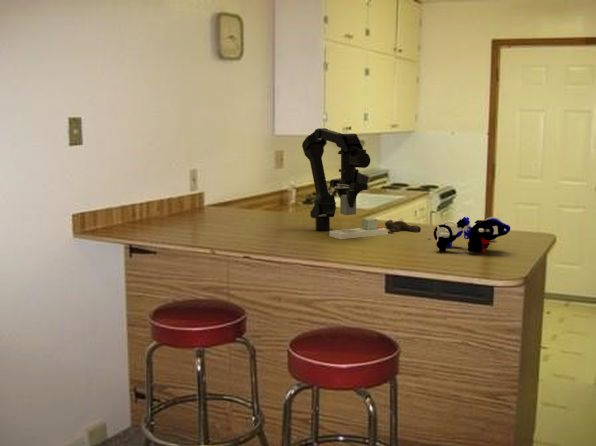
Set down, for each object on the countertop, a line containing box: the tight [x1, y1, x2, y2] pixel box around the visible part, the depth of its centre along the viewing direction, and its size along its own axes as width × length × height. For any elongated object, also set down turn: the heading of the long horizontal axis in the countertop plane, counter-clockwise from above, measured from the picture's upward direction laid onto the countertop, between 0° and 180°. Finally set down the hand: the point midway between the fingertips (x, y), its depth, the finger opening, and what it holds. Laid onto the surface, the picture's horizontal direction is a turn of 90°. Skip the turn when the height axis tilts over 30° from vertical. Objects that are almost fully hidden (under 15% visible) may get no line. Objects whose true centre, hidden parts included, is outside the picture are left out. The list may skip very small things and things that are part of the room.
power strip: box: [329, 225, 389, 240], centre depth 270 cm, size 22×8×4 cm, turn 118°
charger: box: [339, 195, 357, 216], centre depth 266 cm, size 4×4×7 cm
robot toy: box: [433, 216, 511, 253], centre depth 241 cm, size 16×12×25 cm
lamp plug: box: [361, 217, 378, 231], centre depth 272 cm, size 4×4×6 cm
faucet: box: [384, 219, 422, 235], centre depth 279 cm, size 5×17×15 cm
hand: (348, 206), depth 266 cm, fingers closed on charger, 4 cm apart
